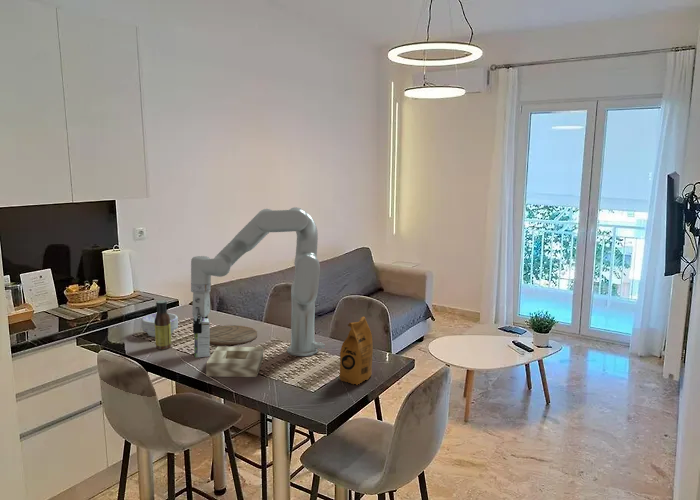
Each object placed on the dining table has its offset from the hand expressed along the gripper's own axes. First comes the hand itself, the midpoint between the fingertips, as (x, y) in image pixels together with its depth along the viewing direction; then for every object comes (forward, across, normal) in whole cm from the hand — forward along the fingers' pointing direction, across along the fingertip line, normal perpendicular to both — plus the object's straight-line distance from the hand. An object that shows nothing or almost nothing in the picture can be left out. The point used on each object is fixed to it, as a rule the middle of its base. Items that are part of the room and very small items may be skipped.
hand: (200, 329), depth 208 cm
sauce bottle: (+11, +8, +17) cm, 22 cm away
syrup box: (+11, 0, -1) cm, 11 cm away
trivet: (+11, +24, -7) cm, 27 cm away
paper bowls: (+11, +26, +24) cm, 37 cm away
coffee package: (+10, -22, -62) cm, 66 cm away
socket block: (+10, -13, -17) cm, 24 cm away
